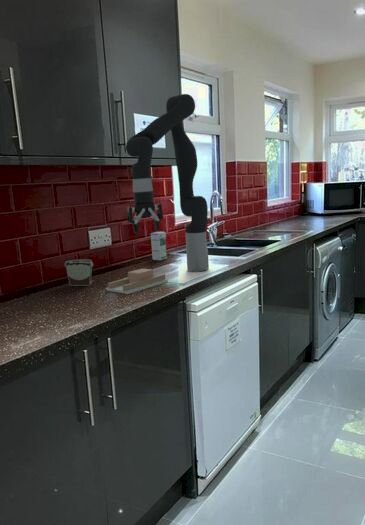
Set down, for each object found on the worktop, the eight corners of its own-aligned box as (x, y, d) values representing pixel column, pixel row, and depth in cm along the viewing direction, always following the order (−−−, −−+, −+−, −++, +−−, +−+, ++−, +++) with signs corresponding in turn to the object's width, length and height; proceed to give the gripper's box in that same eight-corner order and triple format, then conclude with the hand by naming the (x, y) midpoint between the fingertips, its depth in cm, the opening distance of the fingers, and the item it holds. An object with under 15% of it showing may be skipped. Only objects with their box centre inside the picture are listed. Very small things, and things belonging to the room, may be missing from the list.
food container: (100, 282, 183) (98, 258, 181) (93, 285, 177) (91, 261, 175) (73, 282, 186) (71, 258, 184) (66, 285, 180) (63, 261, 178)
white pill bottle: (160, 260, 227) (159, 232, 225) (152, 259, 231) (150, 232, 228) (167, 258, 232) (166, 231, 229) (159, 258, 235) (157, 231, 233)
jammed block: (142, 279, 178) (142, 268, 178) (153, 280, 175) (152, 269, 174) (128, 283, 172) (127, 272, 172) (139, 284, 169) (138, 273, 168)
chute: (146, 279, 184) (145, 272, 184) (167, 281, 177) (167, 274, 176) (106, 290, 168) (105, 282, 167) (127, 294, 160) (127, 286, 160)
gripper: (155, 189, 175) (158, 229, 178) (122, 192, 169) (126, 233, 172) (163, 189, 169) (167, 230, 172) (129, 192, 162) (133, 235, 165)
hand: (146, 232), depth 172 cm, fingers open, 8 cm apart
